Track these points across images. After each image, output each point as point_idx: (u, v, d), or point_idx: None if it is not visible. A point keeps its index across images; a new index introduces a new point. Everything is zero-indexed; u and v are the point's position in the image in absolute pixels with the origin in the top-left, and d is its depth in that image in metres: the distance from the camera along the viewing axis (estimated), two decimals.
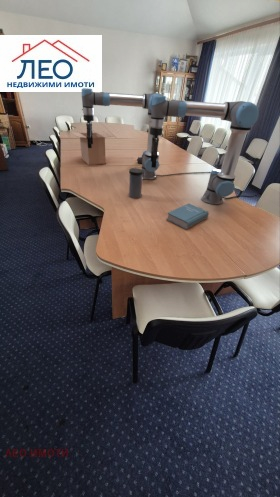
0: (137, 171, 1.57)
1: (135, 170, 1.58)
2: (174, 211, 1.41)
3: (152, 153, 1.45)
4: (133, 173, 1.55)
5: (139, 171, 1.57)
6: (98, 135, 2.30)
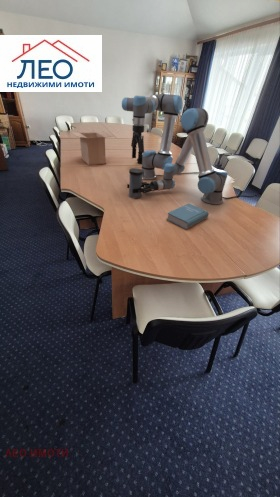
0: (137, 171, 1.57)
1: (135, 170, 1.58)
2: (174, 211, 1.41)
3: None
4: (133, 173, 1.55)
5: (139, 171, 1.57)
6: (98, 135, 2.30)
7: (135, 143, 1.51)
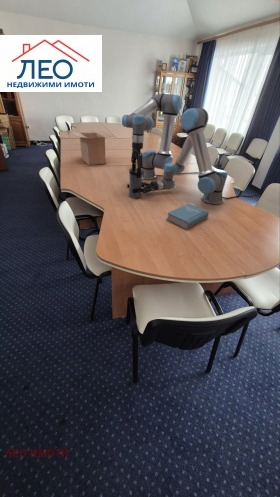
0: None
1: (135, 170, 1.58)
2: (174, 211, 1.41)
3: None
4: (133, 173, 1.55)
5: None
6: (98, 135, 2.30)
7: (135, 159, 1.57)
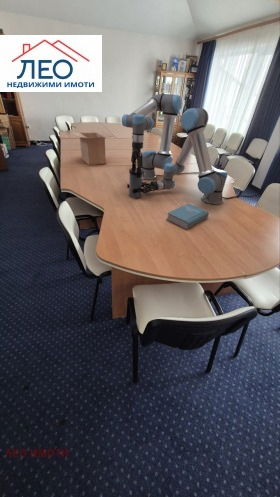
0: None
1: (136, 170, 1.58)
2: (174, 211, 1.41)
3: None
4: (141, 173, 1.56)
5: None
6: (98, 135, 2.30)
7: (135, 158, 1.57)
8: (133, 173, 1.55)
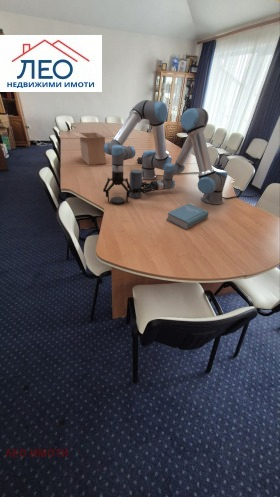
0: (118, 198, 1.59)
1: (118, 199, 1.58)
2: (174, 211, 1.41)
3: None
4: None
5: (116, 197, 1.60)
6: (98, 135, 2.30)
7: None
8: (122, 202, 1.56)
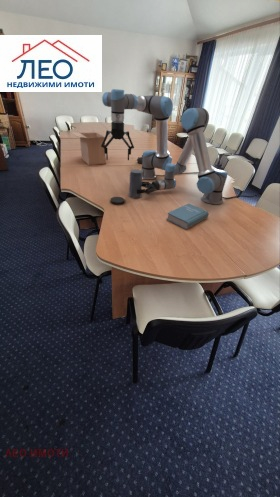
0: (118, 198, 1.59)
1: (118, 199, 1.58)
2: (174, 211, 1.41)
3: None
4: None
5: (116, 197, 1.60)
6: (98, 135, 2.30)
7: (109, 142, 1.35)
8: (122, 202, 1.56)
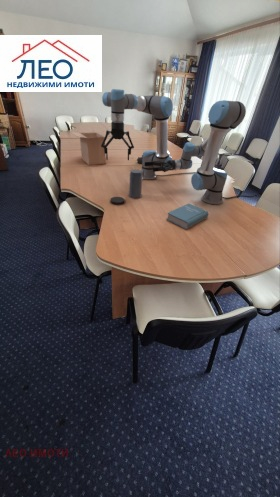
0: (118, 198, 1.59)
1: (118, 199, 1.58)
2: (174, 211, 1.41)
3: None
4: None
5: (116, 197, 1.60)
6: (98, 135, 2.30)
7: (109, 142, 1.35)
8: (122, 202, 1.56)
